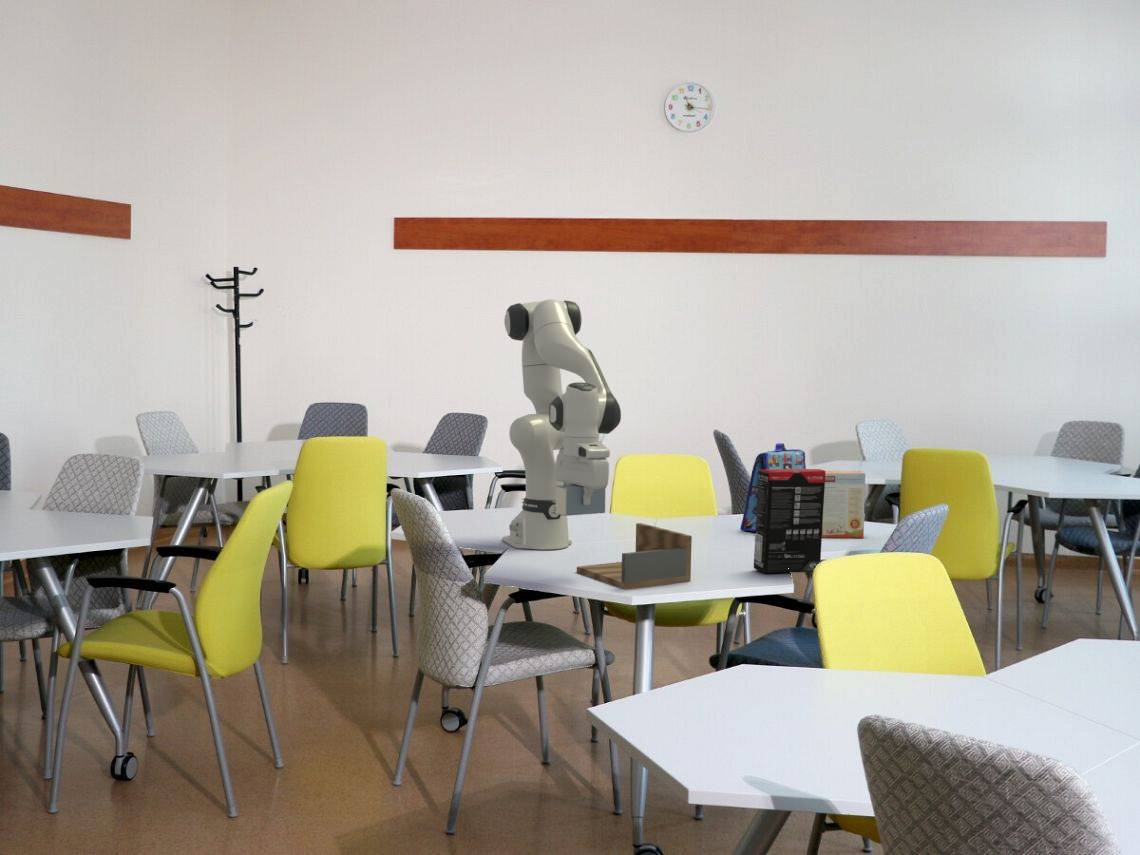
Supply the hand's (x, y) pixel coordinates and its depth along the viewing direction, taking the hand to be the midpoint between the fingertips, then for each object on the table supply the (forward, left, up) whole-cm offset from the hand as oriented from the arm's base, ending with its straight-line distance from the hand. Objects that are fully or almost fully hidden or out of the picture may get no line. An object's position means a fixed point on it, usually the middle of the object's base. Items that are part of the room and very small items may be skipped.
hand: (580, 503), depth 262 cm
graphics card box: (+17, +54, -19) cm, 60 cm away
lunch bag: (-34, +97, -19) cm, 105 cm away
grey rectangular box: (0, 0, -3) cm, 3 cm away
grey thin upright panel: (+15, +13, -18) cm, 26 cm away
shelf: (+4, +13, -19) cm, 24 cm away
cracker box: (-16, +107, -19) cm, 110 cm away
